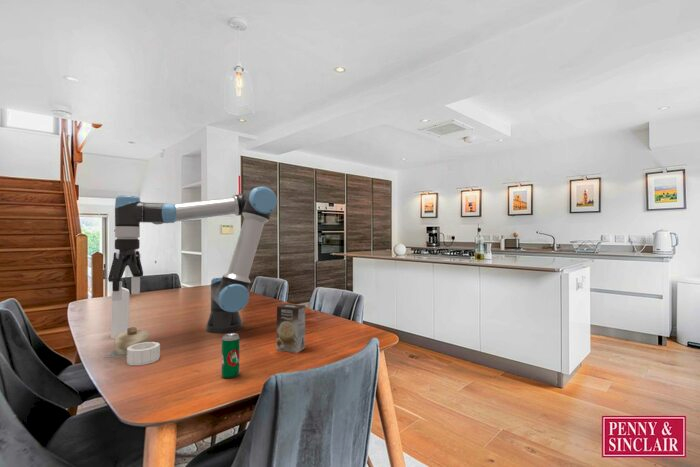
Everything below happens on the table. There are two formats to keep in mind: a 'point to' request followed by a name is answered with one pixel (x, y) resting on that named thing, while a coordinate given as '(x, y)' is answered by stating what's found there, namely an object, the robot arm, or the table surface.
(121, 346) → the beige round piece
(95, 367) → the table surface
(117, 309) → the milk
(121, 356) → the mat
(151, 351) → the bowl
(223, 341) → the soda can
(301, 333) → the coffee box
